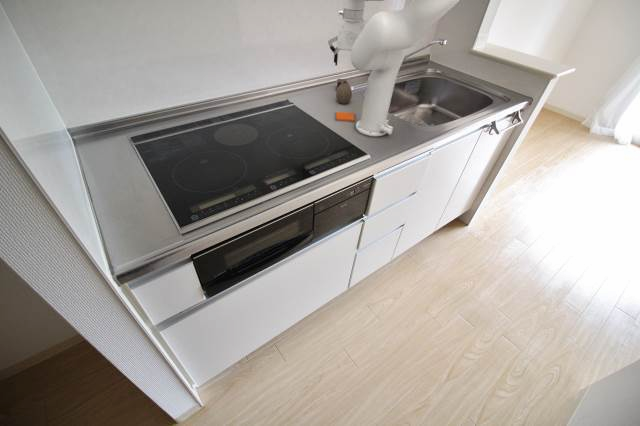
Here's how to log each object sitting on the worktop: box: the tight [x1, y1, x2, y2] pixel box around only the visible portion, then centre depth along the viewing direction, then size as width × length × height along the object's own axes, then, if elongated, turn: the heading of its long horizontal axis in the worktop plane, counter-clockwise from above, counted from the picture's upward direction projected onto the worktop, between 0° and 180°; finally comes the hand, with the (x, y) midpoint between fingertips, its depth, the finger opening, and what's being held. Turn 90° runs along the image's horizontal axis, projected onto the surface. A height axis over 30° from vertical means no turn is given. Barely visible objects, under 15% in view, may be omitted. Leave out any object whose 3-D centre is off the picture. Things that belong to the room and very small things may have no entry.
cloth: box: [335, 111, 355, 122], centre depth 117 cm, size 7×6×1 cm
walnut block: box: [336, 78, 348, 90], centre depth 137 cm, size 4×4×4 cm
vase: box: [335, 80, 353, 105], centre depth 125 cm, size 7×7×9 cm
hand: (347, 65), depth 117 cm, fingers open, 9 cm apart
